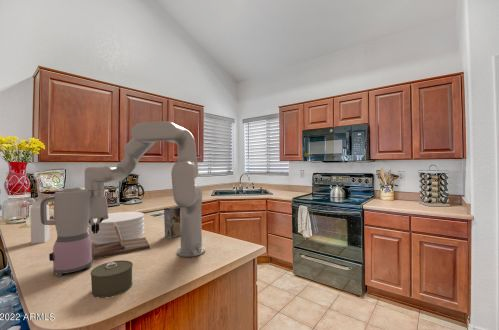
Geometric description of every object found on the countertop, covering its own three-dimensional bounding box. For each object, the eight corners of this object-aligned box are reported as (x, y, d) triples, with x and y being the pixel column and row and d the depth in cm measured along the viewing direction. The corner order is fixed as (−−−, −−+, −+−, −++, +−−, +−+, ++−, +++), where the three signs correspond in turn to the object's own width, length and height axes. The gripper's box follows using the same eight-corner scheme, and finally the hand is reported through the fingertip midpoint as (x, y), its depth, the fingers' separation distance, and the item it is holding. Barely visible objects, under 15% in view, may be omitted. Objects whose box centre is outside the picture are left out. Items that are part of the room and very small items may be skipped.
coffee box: (177, 232, 141) (177, 205, 141) (184, 234, 137) (184, 207, 137) (164, 236, 134) (163, 208, 134) (170, 238, 130) (170, 209, 130)
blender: (89, 260, 101) (88, 186, 101) (95, 268, 93) (94, 187, 93) (40, 272, 90) (38, 189, 90) (42, 283, 82) (41, 191, 82)
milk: (36, 240, 130) (35, 200, 130) (49, 239, 132) (49, 200, 132) (30, 244, 124) (30, 202, 125) (45, 242, 127) (44, 201, 127)
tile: (121, 248, 111) (124, 247, 112) (114, 226, 110) (116, 225, 110) (120, 242, 120) (122, 241, 120) (113, 222, 118) (115, 221, 119)
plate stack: (101, 248, 117) (100, 225, 117) (80, 238, 134) (80, 218, 134) (153, 234, 139) (153, 215, 139) (130, 227, 156) (130, 210, 156)
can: (91, 303, 70) (91, 280, 70) (90, 286, 79) (89, 266, 79) (136, 290, 77) (135, 269, 77) (129, 276, 86) (129, 257, 86)
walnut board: (149, 248, 115) (149, 243, 115) (93, 259, 103) (93, 252, 103) (145, 239, 128) (145, 235, 128) (94, 248, 116) (94, 242, 116)
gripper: (73, 195, 103) (74, 237, 103) (113, 193, 111) (114, 232, 111) (75, 194, 109) (76, 233, 109) (113, 191, 117) (113, 228, 117)
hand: (95, 232), depth 110 cm, fingers closed
